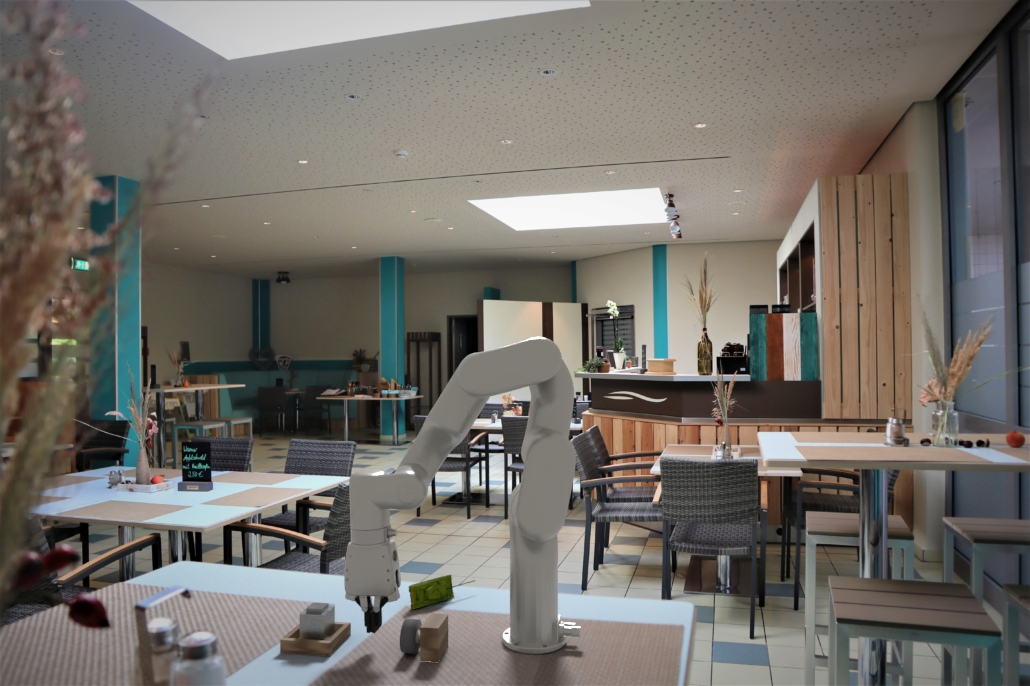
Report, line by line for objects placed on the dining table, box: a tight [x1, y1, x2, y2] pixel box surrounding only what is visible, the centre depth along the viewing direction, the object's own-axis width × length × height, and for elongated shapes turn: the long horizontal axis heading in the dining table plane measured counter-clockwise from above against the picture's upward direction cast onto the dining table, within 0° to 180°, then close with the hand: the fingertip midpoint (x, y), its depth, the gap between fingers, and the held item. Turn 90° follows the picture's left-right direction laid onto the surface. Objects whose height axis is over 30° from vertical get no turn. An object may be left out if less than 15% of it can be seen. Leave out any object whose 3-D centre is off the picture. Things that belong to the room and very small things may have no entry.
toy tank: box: [408, 574, 476, 610], centre depth 160 cm, size 7×19×10 cm
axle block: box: [419, 612, 449, 663], centre depth 132 cm, size 4×7×6 cm, turn 171°
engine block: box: [299, 602, 336, 641], centre depth 137 cm, size 5×5×7 cm
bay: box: [279, 621, 352, 657], centre depth 137 cm, size 10×10×2 cm
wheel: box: [399, 618, 423, 655], centre depth 133 cm, size 3×6×6 cm, turn 170°
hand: (373, 630), depth 135 cm, fingers closed
